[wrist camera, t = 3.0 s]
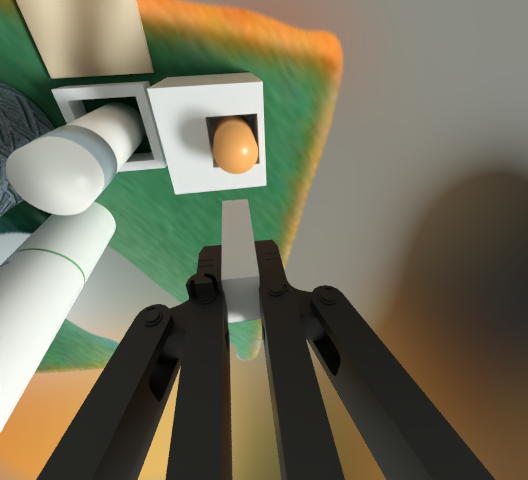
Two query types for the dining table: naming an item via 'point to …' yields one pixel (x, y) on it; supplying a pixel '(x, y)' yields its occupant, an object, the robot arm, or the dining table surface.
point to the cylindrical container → (44, 292)
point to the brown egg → (234, 144)
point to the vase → (16, 135)
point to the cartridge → (76, 159)
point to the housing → (184, 124)
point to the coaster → (88, 36)
